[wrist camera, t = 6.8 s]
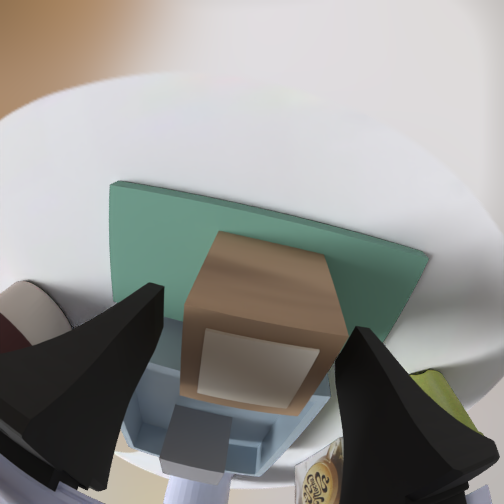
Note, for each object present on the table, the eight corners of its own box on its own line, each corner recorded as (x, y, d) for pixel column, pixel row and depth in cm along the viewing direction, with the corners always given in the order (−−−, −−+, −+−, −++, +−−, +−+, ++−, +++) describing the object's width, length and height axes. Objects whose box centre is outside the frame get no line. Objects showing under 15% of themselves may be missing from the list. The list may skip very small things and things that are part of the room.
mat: (371, 346, 15) (374, 355, 14) (119, 293, 14) (113, 301, 14) (422, 251, 12) (429, 258, 11) (118, 180, 12) (109, 184, 11)
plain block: (224, 438, 20) (217, 485, 16) (175, 426, 20) (162, 472, 16) (232, 417, 18) (224, 473, 14) (175, 404, 18) (159, 458, 14)
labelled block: (293, 331, 14) (297, 418, 9) (205, 313, 13) (178, 397, 9) (323, 254, 12) (349, 338, 7) (218, 230, 11) (183, 306, 7)
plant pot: (329, 410, 18) (337, 510, 10) (426, 335, 14) (477, 448, 7) (394, 427, 20) (409, 501, 12) (472, 370, 16) (507, 447, 8)
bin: (262, 446, 22) (260, 476, 19) (139, 418, 22) (128, 446, 18) (323, 348, 15) (330, 396, 12) (118, 301, 15) (91, 341, 12)
